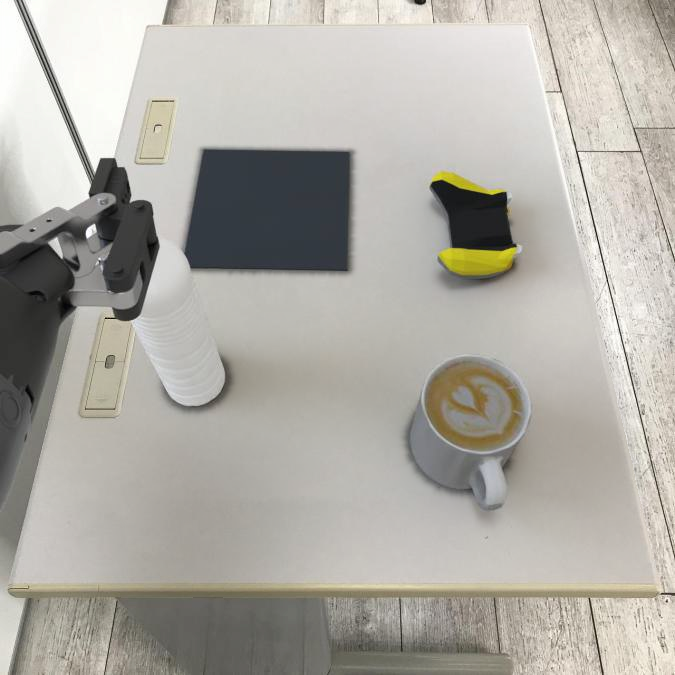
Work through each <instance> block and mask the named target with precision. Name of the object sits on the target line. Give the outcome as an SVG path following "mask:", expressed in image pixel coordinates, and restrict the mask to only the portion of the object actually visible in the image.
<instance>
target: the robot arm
mask: <svg viewBox="0 0 675 675" xmlns="http://www.w3.org/2000/svg"><path fill="white" fill-rule="evenodd" d="M130 185H131V184H130V181H129V177H128V172H127V170H126V167H125V166H118V162H117V160H116V158H115V157H100V158H99V161H98V163H97V167H96V169H95V172H94V176H93V179H92V181H91V184H90V187H89V190H88V192H87V194H88V197H89V198H87V199H86V200H84V201H82V202H80V203H79V204H76V205H75V206H74V207H72V208H70V209H66V208H64V207H61V206H55V207H53V208H51V209H49V210H48V211H45V212H44V213H42V214H40V215H39V216H37V217H35V218H33V219H32V220H30V221H28V222H26V223H25V224H4V225H3V224H2V225H0V514H1V512H2V511H3V509H4V508H5V505H6V503H7V501H8V499H9V496H10V494H11V492H12V489H13V486H14V484H15V481H16V477H17V474H18V471H19V468H20V464H21V460H22V458H23V456H24V455H23V454H24V451H25V448H26V445H27V441H28V439H29V435H30V432H31V429H32V426H33V424H34V423H33V422H34V420H35V417H36V413H37V410H38V407H39V403H40V400H41V397H42V394H43V390H44V387H45V384H46V381H47V378H48V374H49V373H50V372H49V371H50V369H51V365H52V363H53V362H52V361H53V359H54V356H55V352H56V348H57V347H56V346H57V343H58V336H59V329H60V327H61V325H62V324H63V323H64V321H66V319H67V318H68V317H70V316H71V315H72V314H73V313H74V312H75V311H76V310H77V308H78V307H90V308H91V307H96V308H97V307H98V308H111V310H112V313H113V317H114V318H115V319H116V320H117V321H119V322H120V321H121V322H130V321H131V320H134V319H136V318H137V317H139V315H140V314H141V311H142V308H143V304H144V301H145V297H146V294H147V290H148V287H149V283H150V280H151V276H152V273H153V269H154V265H155V262H156V258H157V255H158V251H159V248H160V245H159V240H158V237H157V236H158V234H157V230H156V224H155V219H154V218H155V217H154V214H155V213H154V208H153V203H152V202H150V201H149V200H145V199H136V200H133V201H131V199H132V196H133V195H132V190H131V186H130ZM93 225H94V226H95V229H96V232H94V233H95V234H93V235H92V236H90V237H89V238H87V237H86V231H87V229H88V228H89V227H90V226H91V227H92V226H93ZM56 238H57V241H58V244H59V247H60V250H61V253H62V258H61V256H60V255H59V254H58V252H56V250H55V249H54V248H53V247H52V246H51V245H50V244H49V242H51V241H53V240H55V239H56Z"/></svg>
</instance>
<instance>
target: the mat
mask: <svg viewBox="0 0 675 675" xmlns="http://www.w3.org/2000/svg"><path fill="white" fill-rule="evenodd" d="M202 150H203V151H202V156H201V161H200V162H201V163H200V166H199V174H198V177H197V183H196V188H195V193H194V200H193V206H192V210H191V216H190V222H189V226H188V227H189V228H188V233H187V238H186V243H185V248H184V255H185V256H186V258H187V260H188V263H189V265H190V269H231V270H232V269H233V270H234V269H236V270H238V269H240V270H285V271H286V270H287V271H288V270H290V271H335V272H336V271H337V272H338V271H339V272H342V271H344V272H345V271H348V242H349V241H348V240H349V238H348V237H349V194H350V193H349V191H350V186H349V185H350V151H341V150H340V151H339V150H338V151H336V150H335V151H333V150H331V151H330V150H323V151H322V150H276V149H275V150H274V149H273V150H271V149H208V148H205V149H202Z"/></svg>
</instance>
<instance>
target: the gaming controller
mask: <svg viewBox="0 0 675 675" xmlns="http://www.w3.org/2000/svg"><path fill="white" fill-rule="evenodd" d="M429 190H430V192H431V194H432V196H434V198H435V200H436V201H437V203H438V204H439V206H440V207H441V208H442V211H443V212H444V214H445V216H446V219H447V224H448V233H449V240H450V247H449V248H447V249H444V250H442V251H440V252H439V253H438V254H437V258H436V260H437V262H438V264H439V265H440V266H441V268H443V269H444V270H445V271H446V272H447V273H448V274H449V275H451V276H453V277H456V278H458V279H461V280H480V279H482V280H483V279H485V280H486V279H490V278H493V277H496V276H501V275H502V274H503V275H504V273H506V272H507V271H508V270H510V269H511V268H512V266H513V263H514V260H515V258H517V256H518V255H520V254H521V253H522V250H523V245H521V244H517V243H514V242H513V236H512V230H511V226H510V220H509V216H510V212H511V211H510V209H509V208H508V206H509V204H510V203H511V200H512V199H513V194H512V192H510V191H507V190H505V189H502V188H501V189H499V188H498V189H487V188H484V187H482V186H480V185H478V184H477V183H474V182H473V181H470V180H469V179H466V178H465V177H463V176H461V175H459V174H456V173H455V172H453V171H452V172H451V171H443V170H440V171H439V172H438V173H436V174H435V175H433V177H432V180H431V182H430V185H429Z"/></svg>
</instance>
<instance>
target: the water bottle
mask: <svg viewBox="0 0 675 675" xmlns="http://www.w3.org/2000/svg"><path fill="white" fill-rule="evenodd" d="M95 233H96V232H95V231H94V229H93V227H92V226H90V227H89V228H88V229H87V231H86V237H87V238H89V237H90V236H92V235H93V234H95ZM157 237H158V240H159V245H160V248H159V251H158V255H157V258H156V262H155V265H154V269H153V273H152V276H151V280H150V283H149V287H148V290H147V294H146V297H145V301H144V304H143V308H142V311H141V314H140V315H139V317H137V318H136V319H134V320H131V321H129V322H130V324H131V325H132V328H133V329H134V331H135V333H136V335H137V338H138V340H139V341H140V343H141V345H142V346H143V348H144V351H145V353H146V355H147V356H148V358H149V360H150V362H151V363H152V365H153V367H154V369H155V372H156V373H157V375H158V377H159V379H160V381H161V382H162V384H163V387H164V389H165V390H166V392H167V394H168V395H169V397H170V398H171V399H172V400H173V401H175V402H176V403H178V404H179V405H182V406H185V407H193V406H194V407H199V406H203V405H206V404H208V403H209V402H211V401H212V400H214V399H215V398H216V397H218V395H219V394H220V393H221V391H222V390H223V386H224V385H225V382H226V371H225V368H224V364H223V362H222V359H221V357H220V353H219V351H218V347H217V344H216V342H215V338H214V334H213V332H212V329H211V325H210V323H209V320H208V317H207V314H206V311H205V308H204V307H203V303H202V300H201V297H200V294H199V291H198V288H197V284H196V283H195V282H196V281H195V279H194V277H193V273H192V268H190V265H189V263H188V260H187V258H186V256H185V255H184V254H185V252H184V251H183V250H182V249H181V248H180V247H179V246H178V245H177V244H175V243H174V242H173V241H171V240H169V239H167V238H164V237H162V236H160V235H159V236H158V235H157Z"/></svg>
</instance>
